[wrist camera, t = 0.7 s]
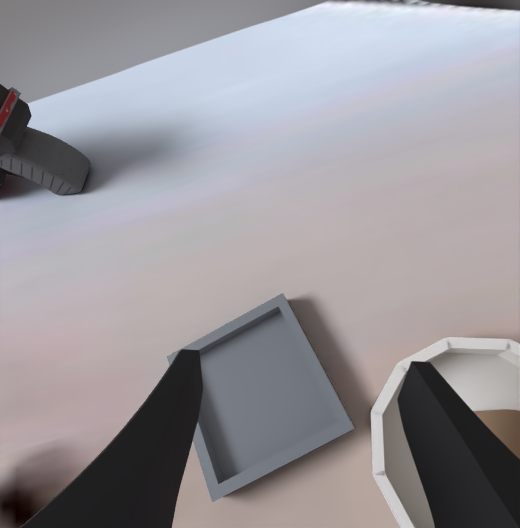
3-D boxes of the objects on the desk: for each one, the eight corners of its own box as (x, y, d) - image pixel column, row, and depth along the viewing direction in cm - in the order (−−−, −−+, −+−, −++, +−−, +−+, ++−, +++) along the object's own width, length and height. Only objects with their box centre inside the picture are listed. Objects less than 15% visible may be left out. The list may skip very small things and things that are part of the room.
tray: (355, 427, 25) (354, 428, 23) (222, 496, 26) (212, 502, 24) (287, 299, 30) (282, 293, 29) (177, 359, 31) (167, 356, 29)
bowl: (684, 524, 19) (725, 538, 17) (457, 631, 20) (468, 658, 18) (501, 311, 25) (514, 301, 23) (335, 398, 26) (332, 397, 24)
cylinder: (548, 475, 21) (609, 494, 16) (476, 511, 21) (511, 542, 16) (491, 398, 23) (527, 392, 18) (426, 431, 24) (443, 435, 18)
